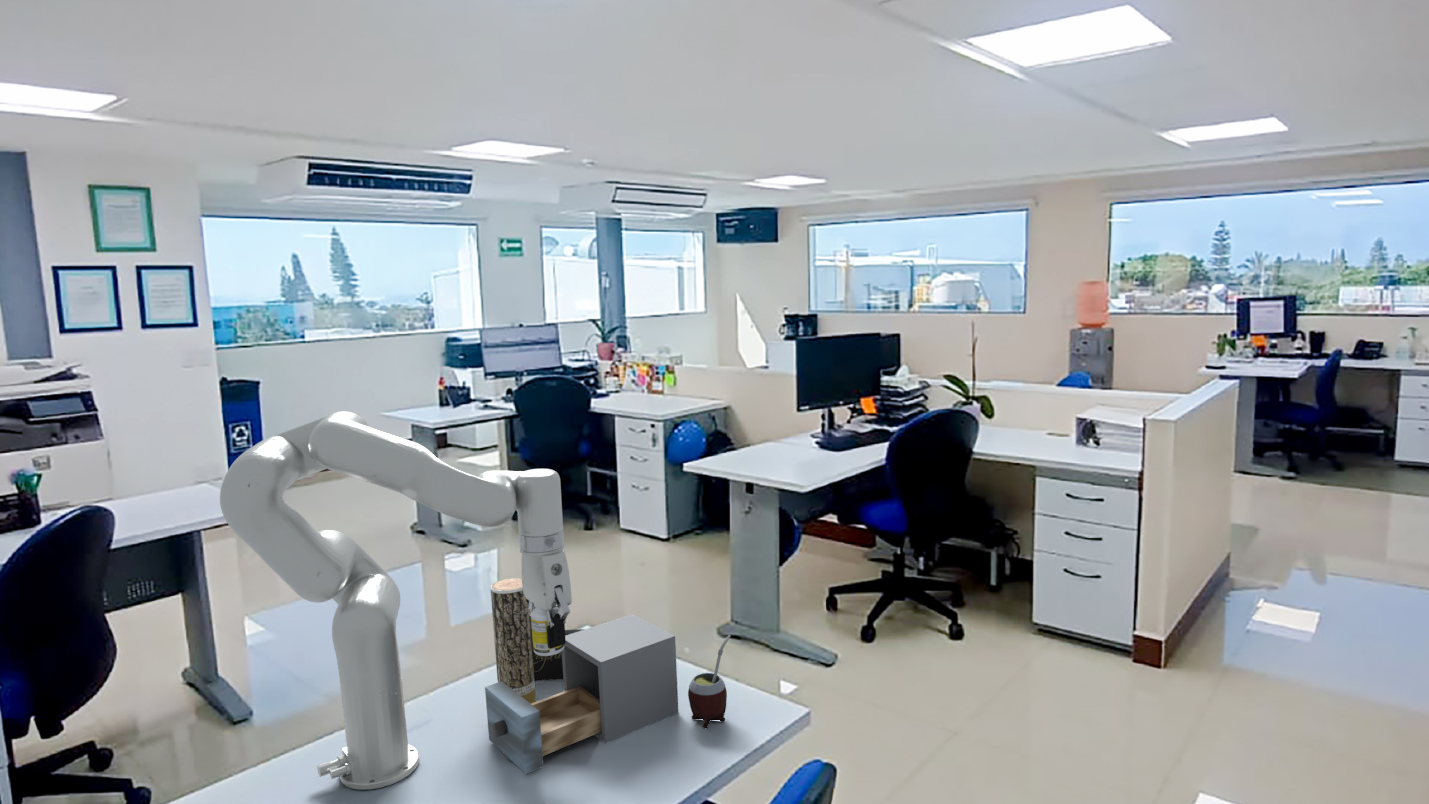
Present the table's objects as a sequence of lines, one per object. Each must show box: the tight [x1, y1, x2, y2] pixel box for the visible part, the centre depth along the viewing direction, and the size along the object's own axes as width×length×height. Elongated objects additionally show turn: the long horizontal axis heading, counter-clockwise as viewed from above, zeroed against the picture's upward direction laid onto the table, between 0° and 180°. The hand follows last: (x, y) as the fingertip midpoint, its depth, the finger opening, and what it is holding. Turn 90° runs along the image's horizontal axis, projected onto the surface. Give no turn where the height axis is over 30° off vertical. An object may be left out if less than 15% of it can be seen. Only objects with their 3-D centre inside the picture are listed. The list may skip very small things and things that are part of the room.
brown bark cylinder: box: [490, 577, 537, 704], centre depth 163 cm, size 7×7×25 cm
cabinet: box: [562, 613, 679, 744], centre depth 161 cm, size 16×14×15 cm
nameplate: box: [531, 628, 585, 682], centre depth 176 cm, size 21×2×10 cm, turn 92°
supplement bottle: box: [530, 603, 564, 656], centre depth 150 cm, size 5×5×10 cm
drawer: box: [484, 681, 602, 775], centre depth 151 cm, size 19×14×10 cm
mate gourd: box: [687, 633, 732, 729], centre depth 157 cm, size 8×8×15 cm
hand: (548, 639), depth 150 cm, fingers closed on supplement bottle, 5 cm apart
